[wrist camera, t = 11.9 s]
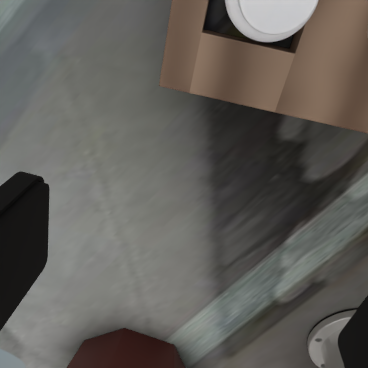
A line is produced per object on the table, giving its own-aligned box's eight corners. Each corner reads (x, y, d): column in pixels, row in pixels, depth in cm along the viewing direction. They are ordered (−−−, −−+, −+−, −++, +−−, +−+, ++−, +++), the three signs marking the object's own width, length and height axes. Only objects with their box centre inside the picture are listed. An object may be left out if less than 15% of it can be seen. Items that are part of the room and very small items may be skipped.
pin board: (551, -101, 20) (912, -205, 10) (411, 135, 29) (522, 220, 18) (205, -181, 20) (183, -375, 10) (164, 78, 29) (126, 130, 18)
